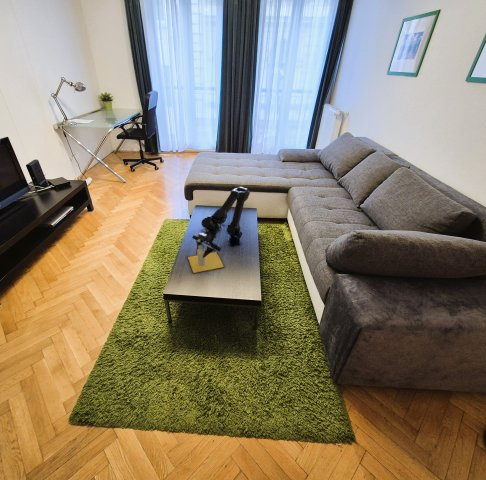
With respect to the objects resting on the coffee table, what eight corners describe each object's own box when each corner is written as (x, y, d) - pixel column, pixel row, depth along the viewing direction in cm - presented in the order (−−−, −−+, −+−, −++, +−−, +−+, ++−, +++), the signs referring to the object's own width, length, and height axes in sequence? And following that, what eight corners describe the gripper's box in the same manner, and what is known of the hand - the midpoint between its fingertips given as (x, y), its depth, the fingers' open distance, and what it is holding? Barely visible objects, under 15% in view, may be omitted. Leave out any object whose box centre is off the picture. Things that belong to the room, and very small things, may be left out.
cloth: (216, 252, 173) (216, 251, 173) (223, 267, 161) (223, 266, 161) (187, 257, 168) (187, 257, 168) (193, 273, 156) (193, 272, 155)
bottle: (206, 260, 162) (205, 244, 155) (205, 266, 158) (205, 249, 151) (198, 260, 162) (197, 244, 155) (197, 265, 158) (196, 249, 151)
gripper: (193, 222, 154) (181, 246, 153) (217, 233, 145) (205, 259, 144) (202, 228, 164) (191, 251, 163) (226, 239, 154) (214, 263, 153)
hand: (199, 255), depth 155 cm, fingers closed on bottle, 5 cm apart
